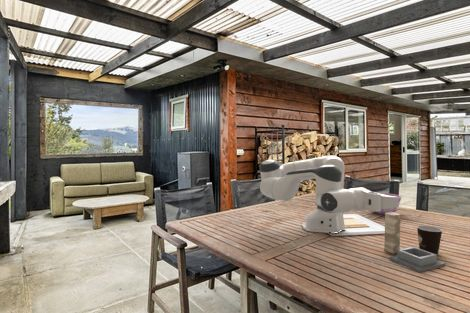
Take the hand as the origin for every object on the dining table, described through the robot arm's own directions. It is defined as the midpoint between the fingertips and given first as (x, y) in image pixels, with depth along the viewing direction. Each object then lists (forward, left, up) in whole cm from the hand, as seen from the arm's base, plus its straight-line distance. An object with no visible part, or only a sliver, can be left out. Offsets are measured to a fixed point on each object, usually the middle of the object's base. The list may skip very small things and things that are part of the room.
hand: (385, 196), depth 115 cm
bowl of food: (+29, +70, -24) cm, 79 cm away
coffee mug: (+20, +4, -24) cm, 31 cm away
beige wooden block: (+4, +3, -24) cm, 24 cm away
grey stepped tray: (+8, -8, -24) cm, 27 cm away
